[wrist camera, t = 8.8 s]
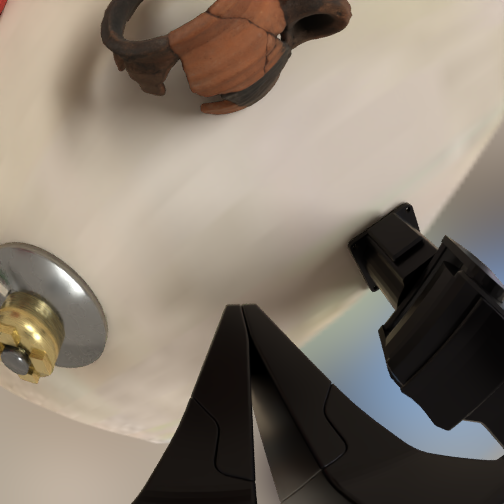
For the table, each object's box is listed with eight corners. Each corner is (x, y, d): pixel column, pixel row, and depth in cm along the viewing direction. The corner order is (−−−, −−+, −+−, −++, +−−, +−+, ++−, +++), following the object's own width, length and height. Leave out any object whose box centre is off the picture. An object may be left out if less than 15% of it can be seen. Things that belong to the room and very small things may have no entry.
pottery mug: (176, 144, 17) (85, 114, 9) (159, 37, 16) (92, -16, 8) (365, 95, 14) (395, 16, 6) (317, -11, 13) (305, -93, 5)
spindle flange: (123, 366, 26) (114, 421, 21) (16, 352, 24) (-1, 395, 18) (86, 241, 19) (50, 300, 13) (-35, 243, 16) (-73, 285, 10)
